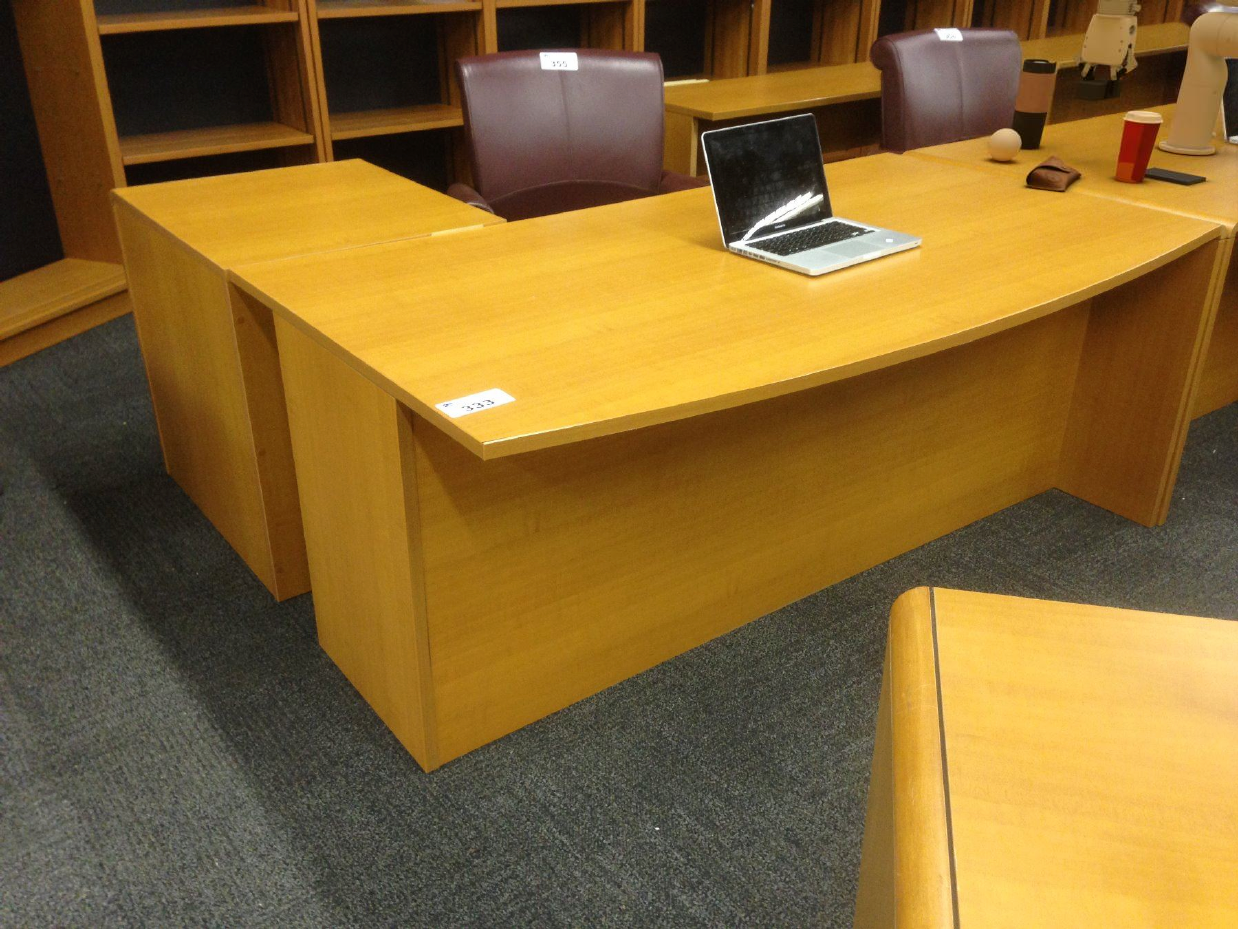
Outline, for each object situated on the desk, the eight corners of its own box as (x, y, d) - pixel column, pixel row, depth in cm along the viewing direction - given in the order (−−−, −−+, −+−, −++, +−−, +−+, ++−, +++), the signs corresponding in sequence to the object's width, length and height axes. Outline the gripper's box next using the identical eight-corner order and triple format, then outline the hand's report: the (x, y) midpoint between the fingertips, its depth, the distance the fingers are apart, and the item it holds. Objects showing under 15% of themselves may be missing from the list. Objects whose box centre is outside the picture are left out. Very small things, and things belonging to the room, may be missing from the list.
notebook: (1153, 170, 238) (1154, 167, 238) (1205, 180, 230) (1206, 177, 229) (1134, 174, 234) (1135, 171, 234) (1187, 185, 226) (1188, 181, 225)
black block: (1099, 94, 241) (1102, 77, 239) (1119, 97, 237) (1123, 80, 236) (1074, 98, 235) (1077, 81, 234) (1095, 101, 232) (1098, 84, 230)
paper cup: (1146, 177, 231) (1162, 111, 225) (1149, 185, 225) (1166, 117, 218) (1107, 174, 234) (1123, 109, 227) (1110, 181, 227) (1126, 114, 221)
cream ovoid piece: (1017, 165, 240) (1024, 132, 237) (984, 162, 243) (989, 129, 239) (1019, 157, 249) (1025, 125, 245) (986, 154, 251) (992, 122, 248)
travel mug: (1006, 147, 259) (1022, 61, 250) (1009, 142, 265) (1024, 57, 256) (1039, 150, 256) (1057, 63, 247) (1040, 144, 263) (1058, 60, 253)
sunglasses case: (1067, 189, 217) (1055, 159, 216) (1033, 203, 222) (1022, 173, 221) (1083, 174, 231) (1072, 145, 230) (1051, 187, 235) (1040, 159, 234)
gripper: (1162, 10, 224) (1142, 100, 232) (1089, 4, 236) (1072, 89, 244) (1144, 12, 220) (1123, 103, 228) (1070, 6, 232) (1054, 93, 240)
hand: (1097, 95), depth 236 cm, fingers closed on black block, 5 cm apart
